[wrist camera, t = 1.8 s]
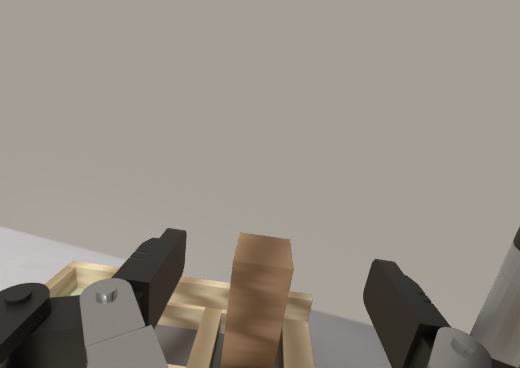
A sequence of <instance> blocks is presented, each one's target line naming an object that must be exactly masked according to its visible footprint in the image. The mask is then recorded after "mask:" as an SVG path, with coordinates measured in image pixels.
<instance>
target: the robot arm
mask: <svg viewBox="0 0 520 368" xmlns="http://www.w3.org/2000/svg"><path fill="white" fill-rule="evenodd" d="M185 250H186V231H185V230H178V229H172V228H167V229H166V231H165V232H164V233H163V235H162V236H161V237H160V238H151V239H149V240H147V241H145V242H144V243H142V244H141V245H140V246H139V247H138V249H137V250H136V252H134V253H133V254H132V255H131V256H130V258H129V259H128V260H127V261H126V262H125V263H124V264H123V265H122V266H121V267H120V269H119V270H118V271H117V272H116V273H115V274H114V275H113V276H112V278H109V279H103V280H99V281H97V282H94V283H92V284H90V285H89V286H87V287H86V288H85V289H84V290H83V291H82V293H81V295H75V296H63V297H50V290H49V288H48V287H47V286H46V285H44V284H40V283H25V284H19V285H15V286H12V287H9V288H7V289H5V290H2V291H0V368H168V365H167V362H166V360H165V357H164V355H163V352H162V349H161V347H160V344H159V342H158V339H157V336H156V334H155V331H154V329H155V327H156V325H157V323H158V322H159V320H160V318H161V316H162V314H163V312H164V310H165V308H166V306H167V304H168V302H169V300H170V298H171V296H172V294H173V292H174V290H175V288H176V286H177V284H178V282H179V280H180V278H181V276H182V273H183V269H184V264H185ZM363 299H364V304H365V307H366V309H367V312H368V314H369V316H370V318H371V321H372V323H373V325H374V328H375V330H376V332H377V334H378V337H379V339H380V341H381V343H382V346H383V348H384V350H385V353H386V355H387V357H388V359H389V362H390V364H391V366H392V368H520V227H519V229H518V231H517V234H516V236H515V238H514V240H513V243H512V244H511V246H510V249H509V251H508V253H507V255H506V257H505V259H504V262H503V264H502V266H501V269H500V271H499V273H498V275H497V277H496V279H495V281H494V283H493V286H492V288H491V290H490V292H489V294H488V297H487V299H486V301H485V303H484V305H483V307H482V309H481V311H480V314H479V316H478V318H477V320H476V322H475V324H474V326H473V329H472V331H471V333H470V335H468V334H467V333H464V332H463V331H460V330H458V329H455V328H451V326H450V325H449V324H448V323H447V321H446V320H445V319H444V317H443V316H442V315H441V314H440V312H439V311H438V310H437V308H436V307H435V306H434V304H432V303H431V301H430V299H429V298H428V297H427V296H426V295H425V293H424V292H423V290H422V289H421V288H420V287H419V285H418V284H417V283H415V282H414V281H413V280H412V279H410V278H409V277H408V276H406V275H404V274H403V272H402V271H401V270H400V268H399V267H398V266H397V264H396V263H395V262H392V261H386V260H379V259H375V260H374V261H373V262H372V265H371V268H370V272H369V275H368V279H367V282H366V285H365V288H364V293H363Z"/></svg>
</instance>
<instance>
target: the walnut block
mask: <svg viewBox="0 0 520 368" xmlns="http://www.w3.org/2000/svg"><path fill="white" fill-rule="evenodd" d="M292 274H293V261H292V253H291V244H290V240H289V239H282V238H275V237H267V236H261V235H254V234H247V233H240V235H239V239H238V243H237V247H236V251H235V256H234V260H233V267H232V276H231V283H230V291H229V300H228V308H227V316H226V324H225V333H224V341H223V349H222V357H221V366H220V368H274V364H275V359H276V354H277V349H278V344H279V340H280V335H281V330H282V325H283V320H284V315H285V310H286V305H287V300H288V295H289V290H290V284H291V280H292Z"/></svg>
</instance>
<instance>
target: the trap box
mask: <svg viewBox="0 0 520 368" xmlns="http://www.w3.org/2000/svg"><path fill="white" fill-rule="evenodd" d="M119 269H120V267H114V266H107V265H99V264H92V263H85V262H78V261H72V262H71V263H70V264H69V265H67V266H66V267H65V268H64V269H62V270H61V271H60V272H59V273H58V274H56V275H55V276H54V277H53V278H52V279H50V280H49V281H48V282H47V283H46V284H44V285H46V286H47V287H48V288H49V290H50V297H63V296H75V295H81V293H82V291H83V290H84V289H85V288H86V287H87V286H89V285H90V284H92V283H94V282H97V281H99V280H103V279H109V278H112V276H113V275H114V274H115V273H116V272H117V271H118V270H119ZM229 291H230V283H226V282H219V281H212V280H205V279H198V278H191V277H184V276H181V278H180V280H179V282H178V284H177V286H176V288H175V290H174V292H173V294H172V296H171V298H170V300H169V302H168V304H167V306H166V308H165V310H164V312H163V314H162V316H161V318H160V320H159V322H158V323H157V325H156V327H155V329H154V331H155V334H156V336H157V339H158V342H159V344H160V347H161V349H162V352H163V355H164V357H165V360H166V362H167V365H168V368H220V366H221V357H222V349H223V341H224V333H225V324H226V316H227V308H228V300H229ZM311 305H312V296H311V294H303V293H296V292H290V291H289V295H288V300H287V305H286V310H285V315H284V320H283V325H282V330H281V335H280V340H279V344H278V349H277V354H276V359H275V364H274V368H315V367H314V360H313V354H312V347H311V341H310V334H309V328H308V318H309V313H310V309H311Z"/></svg>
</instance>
